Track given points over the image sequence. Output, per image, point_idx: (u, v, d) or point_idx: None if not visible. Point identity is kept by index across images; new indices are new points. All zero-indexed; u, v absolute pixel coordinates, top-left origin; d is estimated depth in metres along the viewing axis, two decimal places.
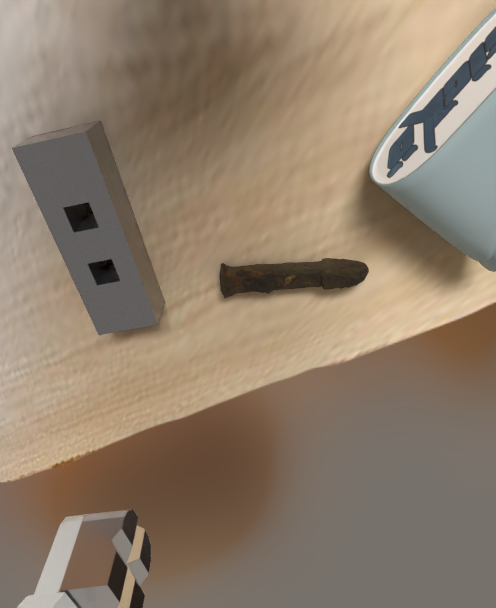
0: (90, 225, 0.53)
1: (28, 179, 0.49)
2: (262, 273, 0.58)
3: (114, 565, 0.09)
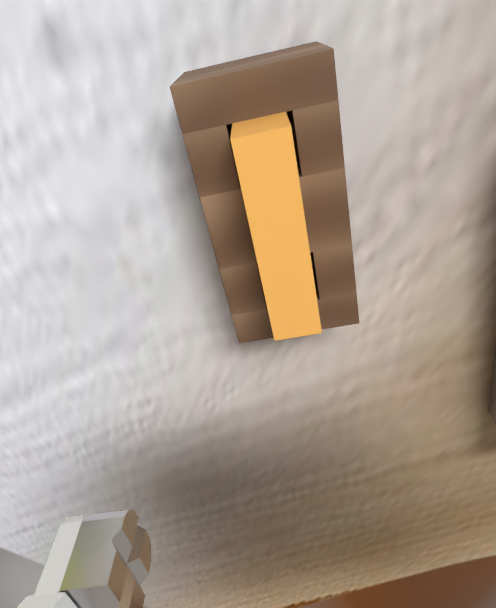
0: None
1: None
2: None
3: (114, 565, 0.09)
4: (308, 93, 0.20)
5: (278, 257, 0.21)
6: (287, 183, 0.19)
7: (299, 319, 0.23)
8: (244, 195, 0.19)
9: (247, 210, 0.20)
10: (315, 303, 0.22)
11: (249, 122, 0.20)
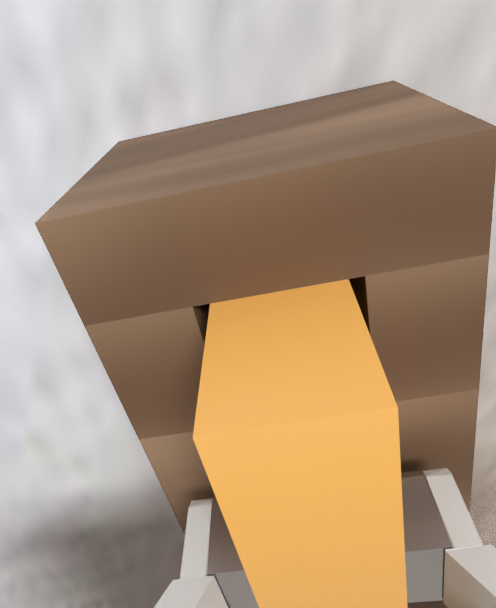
0: None
1: None
2: None
3: None
4: (411, 238, 0.07)
5: None
6: (367, 526, 0.06)
7: None
8: (240, 546, 0.07)
9: (249, 572, 0.07)
10: None
11: (253, 315, 0.07)
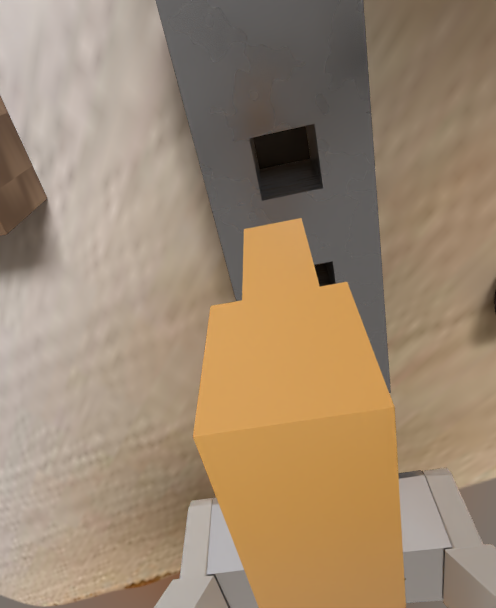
0: (292, 185, 0.23)
1: (177, 61, 0.19)
2: None
3: None
4: None
5: None
6: (364, 524, 0.06)
7: None
8: (240, 545, 0.07)
9: (248, 571, 0.07)
10: None
11: (253, 317, 0.08)
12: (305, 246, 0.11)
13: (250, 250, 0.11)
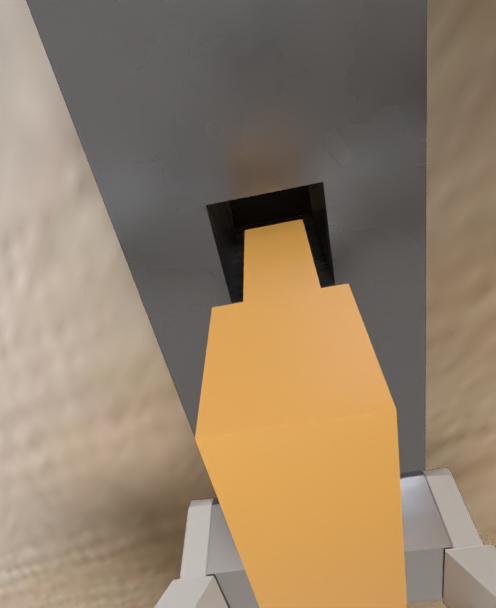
0: None
1: (62, 68, 0.10)
2: None
3: None
4: None
5: None
6: (366, 526, 0.06)
7: None
8: (241, 547, 0.07)
9: (250, 572, 0.07)
10: None
11: (255, 319, 0.08)
12: (306, 247, 0.11)
13: (251, 250, 0.11)
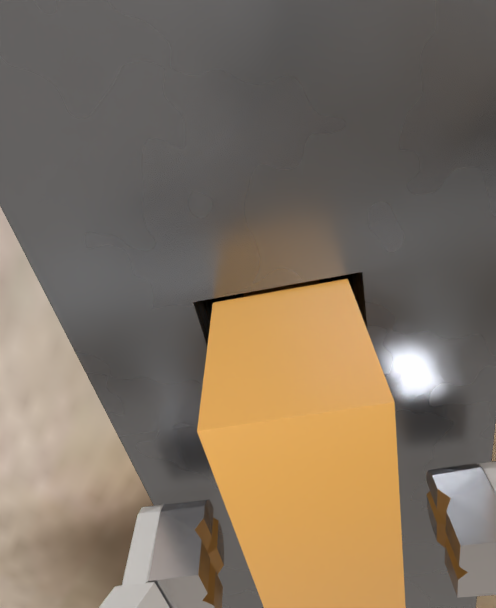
0: None
1: None
2: None
3: (201, 555, 0.09)
4: None
5: None
6: (365, 517, 0.07)
7: None
8: (242, 538, 0.07)
9: (251, 563, 0.07)
10: None
11: (255, 314, 0.08)
12: None
13: None
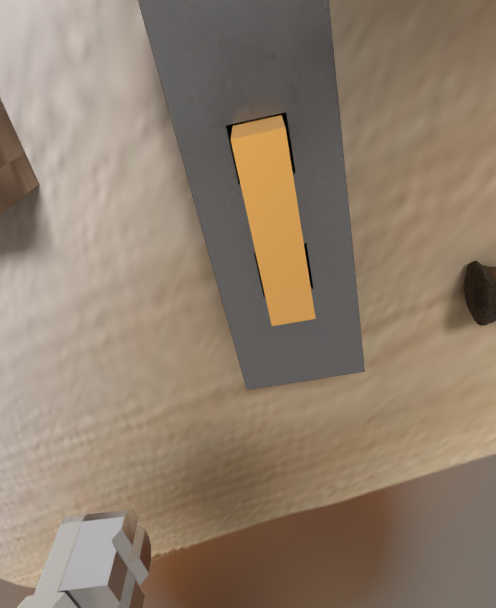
0: None
1: (157, 53, 0.21)
2: None
3: (114, 565, 0.09)
4: None
5: (275, 248, 0.23)
6: (282, 179, 0.21)
7: (294, 306, 0.24)
8: (243, 190, 0.21)
9: (246, 204, 0.21)
10: (309, 290, 0.24)
11: (248, 124, 0.22)
12: None
13: None
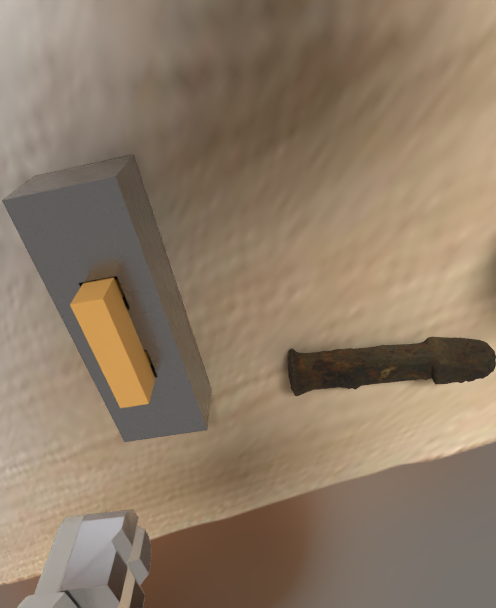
0: None
1: (27, 244, 0.33)
2: (349, 366, 0.42)
3: (114, 565, 0.09)
4: None
5: (111, 363, 0.34)
6: (107, 325, 0.33)
7: (132, 396, 0.36)
8: (84, 331, 0.33)
9: (87, 339, 0.33)
10: (140, 387, 0.36)
11: (90, 285, 0.34)
12: None
13: None
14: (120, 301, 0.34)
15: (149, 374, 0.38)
